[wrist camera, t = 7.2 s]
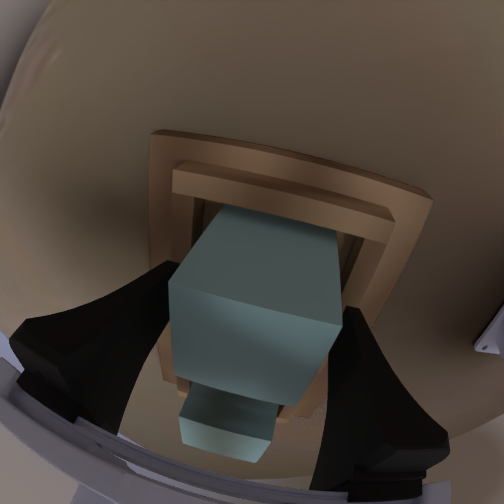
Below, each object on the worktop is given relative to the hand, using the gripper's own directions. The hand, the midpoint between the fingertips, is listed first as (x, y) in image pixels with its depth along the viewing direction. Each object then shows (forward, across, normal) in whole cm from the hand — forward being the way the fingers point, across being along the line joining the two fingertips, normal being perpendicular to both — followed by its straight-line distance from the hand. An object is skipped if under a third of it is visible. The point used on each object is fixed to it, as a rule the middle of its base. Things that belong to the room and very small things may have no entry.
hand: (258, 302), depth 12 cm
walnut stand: (+4, 0, +4) cm, 6 cm away
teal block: (+3, 0, 0) cm, 3 cm away
